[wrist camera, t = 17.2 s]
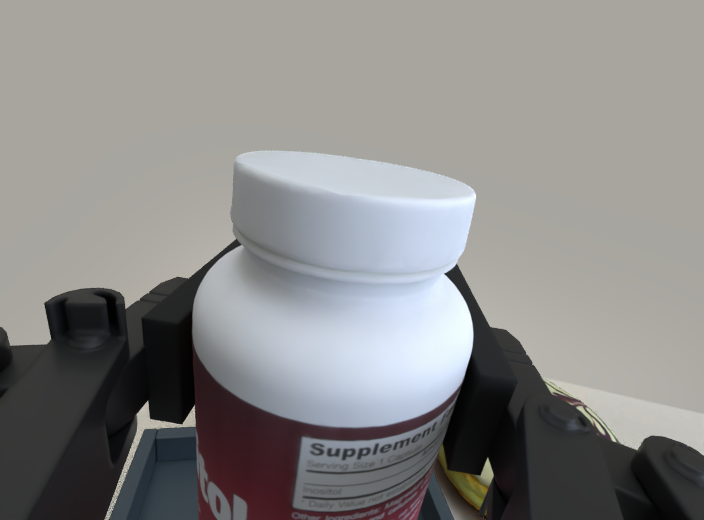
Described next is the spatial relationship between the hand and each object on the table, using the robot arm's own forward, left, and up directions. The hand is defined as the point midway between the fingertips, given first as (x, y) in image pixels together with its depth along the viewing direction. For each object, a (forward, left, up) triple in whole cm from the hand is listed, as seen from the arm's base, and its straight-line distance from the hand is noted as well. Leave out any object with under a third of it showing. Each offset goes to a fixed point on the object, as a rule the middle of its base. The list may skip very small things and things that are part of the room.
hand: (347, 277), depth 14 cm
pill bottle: (-1, -5, -6) cm, 8 cm away
